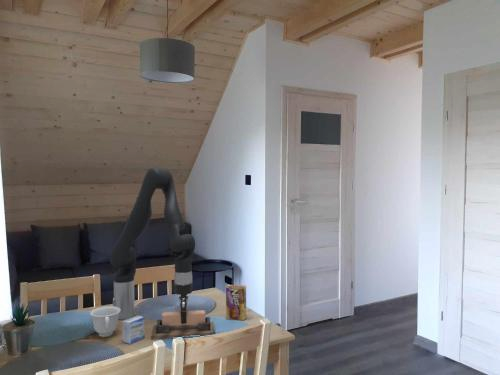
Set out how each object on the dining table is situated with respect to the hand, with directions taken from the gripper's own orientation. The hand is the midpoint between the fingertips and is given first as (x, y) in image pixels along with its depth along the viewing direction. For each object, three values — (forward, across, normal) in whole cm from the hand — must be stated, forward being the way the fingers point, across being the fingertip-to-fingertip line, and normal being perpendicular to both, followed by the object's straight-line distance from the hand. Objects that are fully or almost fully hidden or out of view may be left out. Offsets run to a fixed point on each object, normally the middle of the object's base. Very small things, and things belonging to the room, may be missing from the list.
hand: (183, 321), depth 175 cm
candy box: (+5, -13, +24) cm, 28 cm away
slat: (+1, 0, 0) cm, 1 cm away
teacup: (+5, -1, -32) cm, 32 cm away
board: (+5, 0, 0) cm, 5 cm away
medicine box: (+5, +5, -20) cm, 21 cm away
